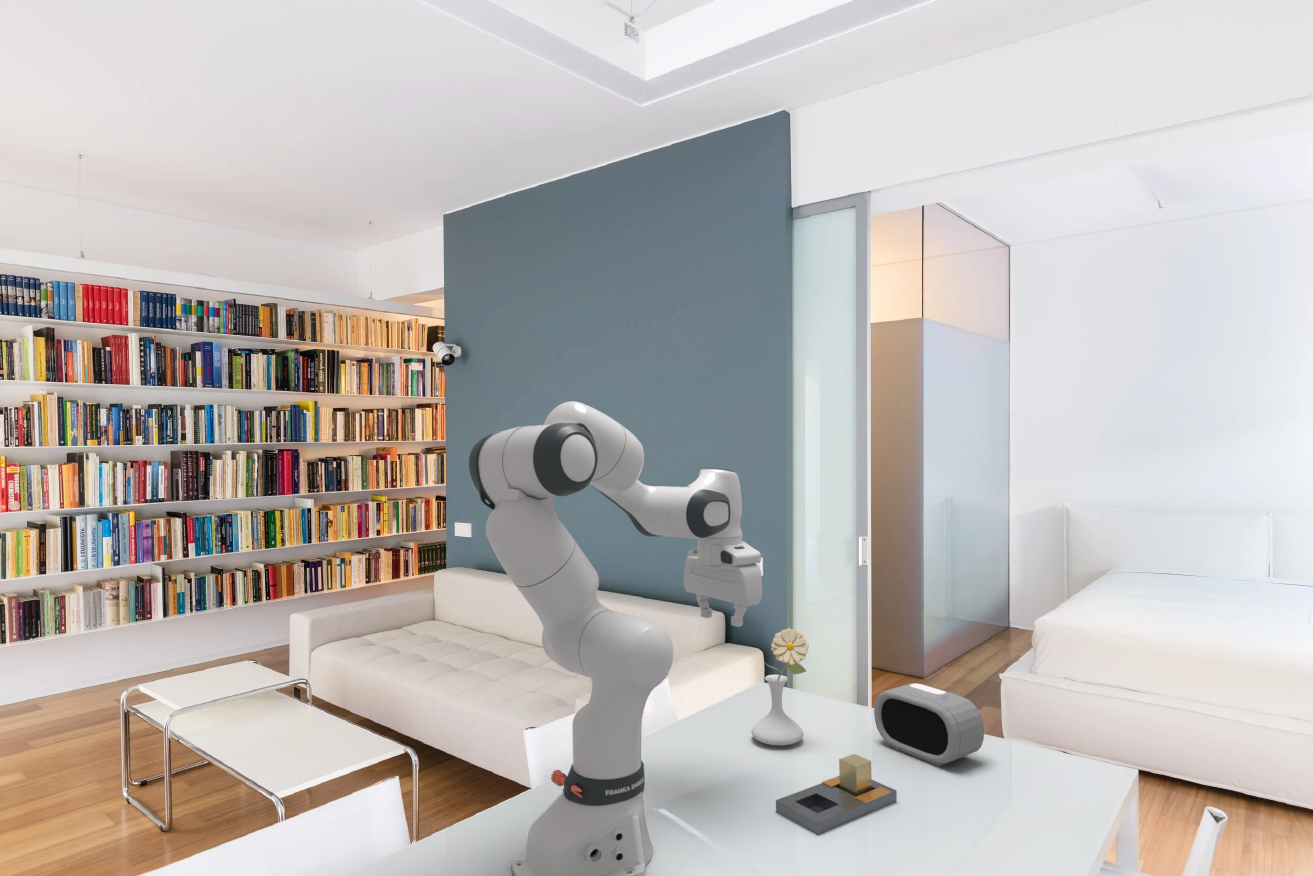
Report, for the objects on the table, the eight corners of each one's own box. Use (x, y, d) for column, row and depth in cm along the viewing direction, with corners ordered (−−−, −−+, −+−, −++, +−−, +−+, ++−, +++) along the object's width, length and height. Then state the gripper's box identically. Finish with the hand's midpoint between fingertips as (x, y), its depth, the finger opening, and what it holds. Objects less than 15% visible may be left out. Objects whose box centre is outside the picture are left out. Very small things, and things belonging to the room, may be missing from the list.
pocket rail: (818, 841, 128) (817, 821, 128) (776, 817, 136) (775, 799, 136) (896, 807, 139) (896, 789, 139) (853, 787, 147) (853, 770, 147)
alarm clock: (873, 742, 169) (872, 681, 169) (902, 733, 174) (900, 673, 174) (955, 775, 152) (954, 707, 152) (984, 764, 157) (983, 697, 157)
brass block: (856, 806, 137) (856, 766, 137) (839, 797, 141) (839, 759, 141) (872, 800, 140) (871, 761, 140) (854, 792, 143) (854, 754, 143)
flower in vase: (745, 746, 168) (743, 631, 168) (759, 728, 178) (757, 619, 179) (805, 755, 163) (803, 636, 163) (815, 735, 173) (813, 624, 173)
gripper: (675, 546, 158) (676, 614, 158) (741, 557, 141) (742, 633, 141) (700, 544, 162) (701, 610, 162) (767, 554, 145) (768, 628, 145)
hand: (721, 621), depth 151 cm, fingers open, 8 cm apart
